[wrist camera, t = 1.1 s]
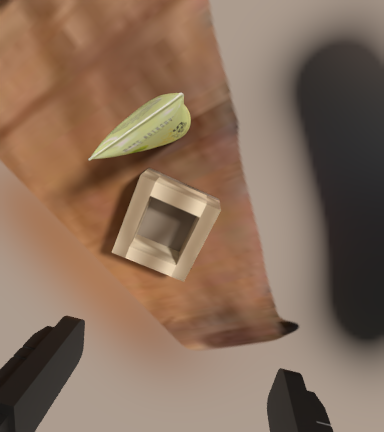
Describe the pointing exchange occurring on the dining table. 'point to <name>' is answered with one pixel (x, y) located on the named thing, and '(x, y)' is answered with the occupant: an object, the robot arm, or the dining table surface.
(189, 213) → the socket block
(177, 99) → the tube
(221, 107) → the dining table surface
